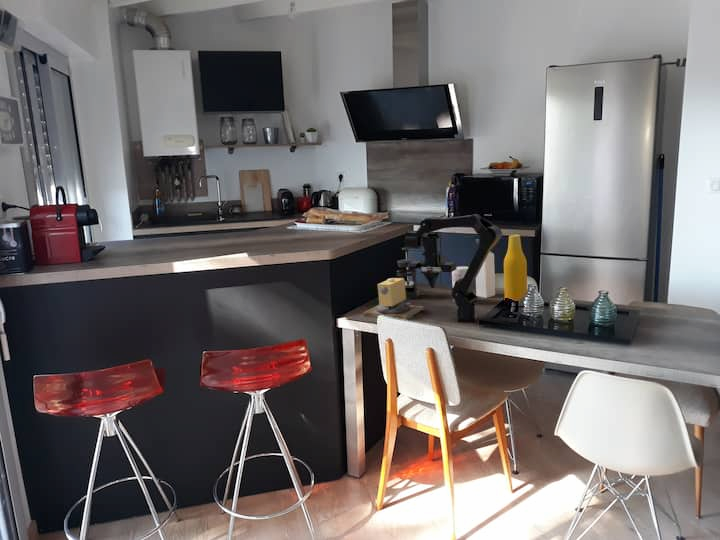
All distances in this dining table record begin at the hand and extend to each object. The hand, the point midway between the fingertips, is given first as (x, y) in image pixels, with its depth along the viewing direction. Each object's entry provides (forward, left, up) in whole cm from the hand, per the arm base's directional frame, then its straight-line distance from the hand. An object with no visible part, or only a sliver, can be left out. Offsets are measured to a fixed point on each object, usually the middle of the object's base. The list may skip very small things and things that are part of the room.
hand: (432, 287), depth 227 cm
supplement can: (-6, -24, -12) cm, 28 cm away
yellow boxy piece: (+18, -3, -8) cm, 20 cm away
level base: (+18, -3, -12) cm, 22 cm away
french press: (+21, -30, -12) cm, 39 cm away
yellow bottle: (-29, -22, -12) cm, 39 cm away
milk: (-14, -35, -12) cm, 40 cm away
